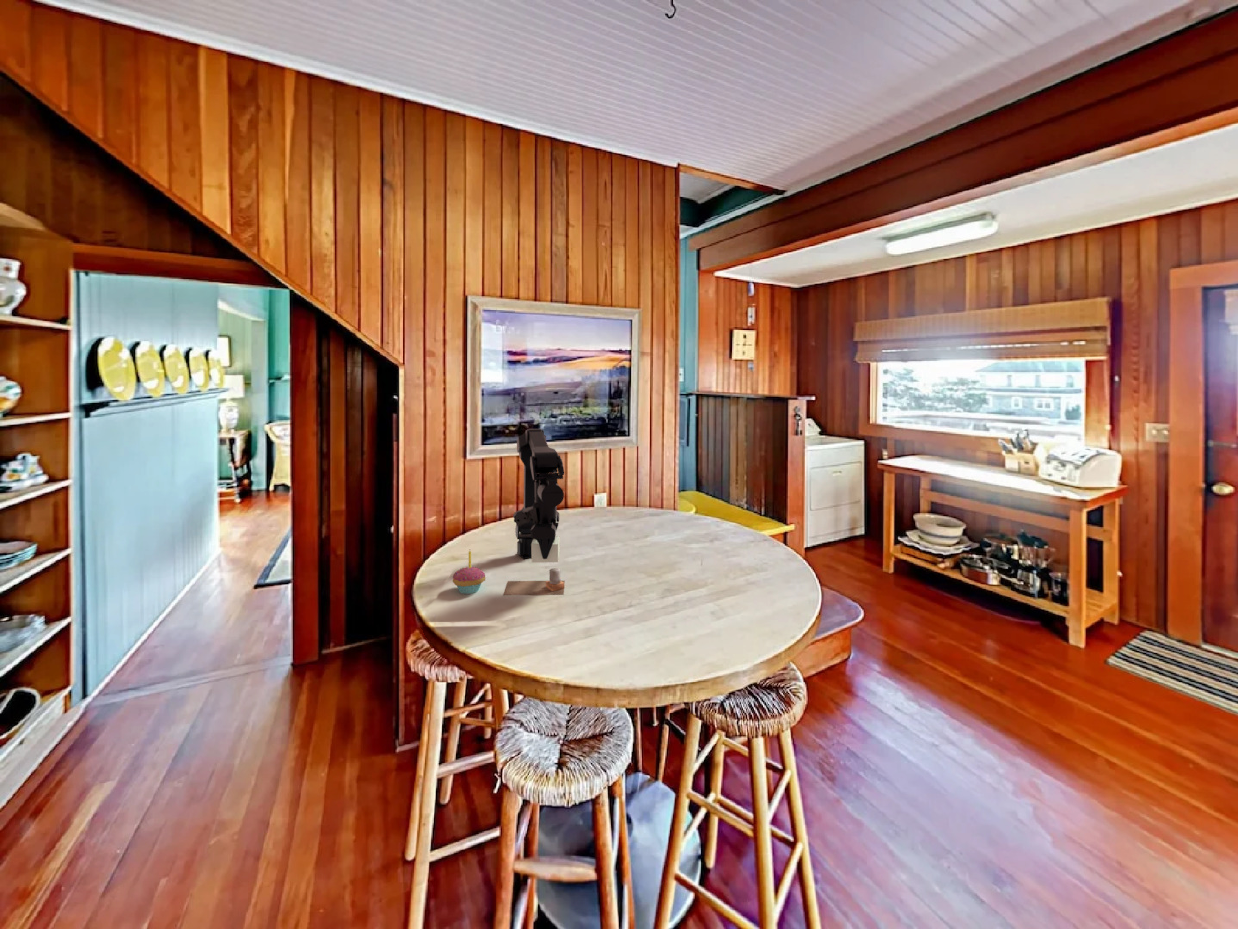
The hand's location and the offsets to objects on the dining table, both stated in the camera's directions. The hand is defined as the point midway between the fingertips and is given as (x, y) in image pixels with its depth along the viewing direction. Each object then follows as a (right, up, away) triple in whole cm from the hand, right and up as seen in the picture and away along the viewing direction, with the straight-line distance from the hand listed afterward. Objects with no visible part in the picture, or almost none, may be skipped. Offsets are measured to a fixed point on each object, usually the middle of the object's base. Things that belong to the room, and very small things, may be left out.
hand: (546, 554), depth 152 cm
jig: (-3, -10, +2) cm, 11 cm away
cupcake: (-21, -11, 0) cm, 23 cm away
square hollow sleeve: (0, -1, 0) cm, 1 cm away
